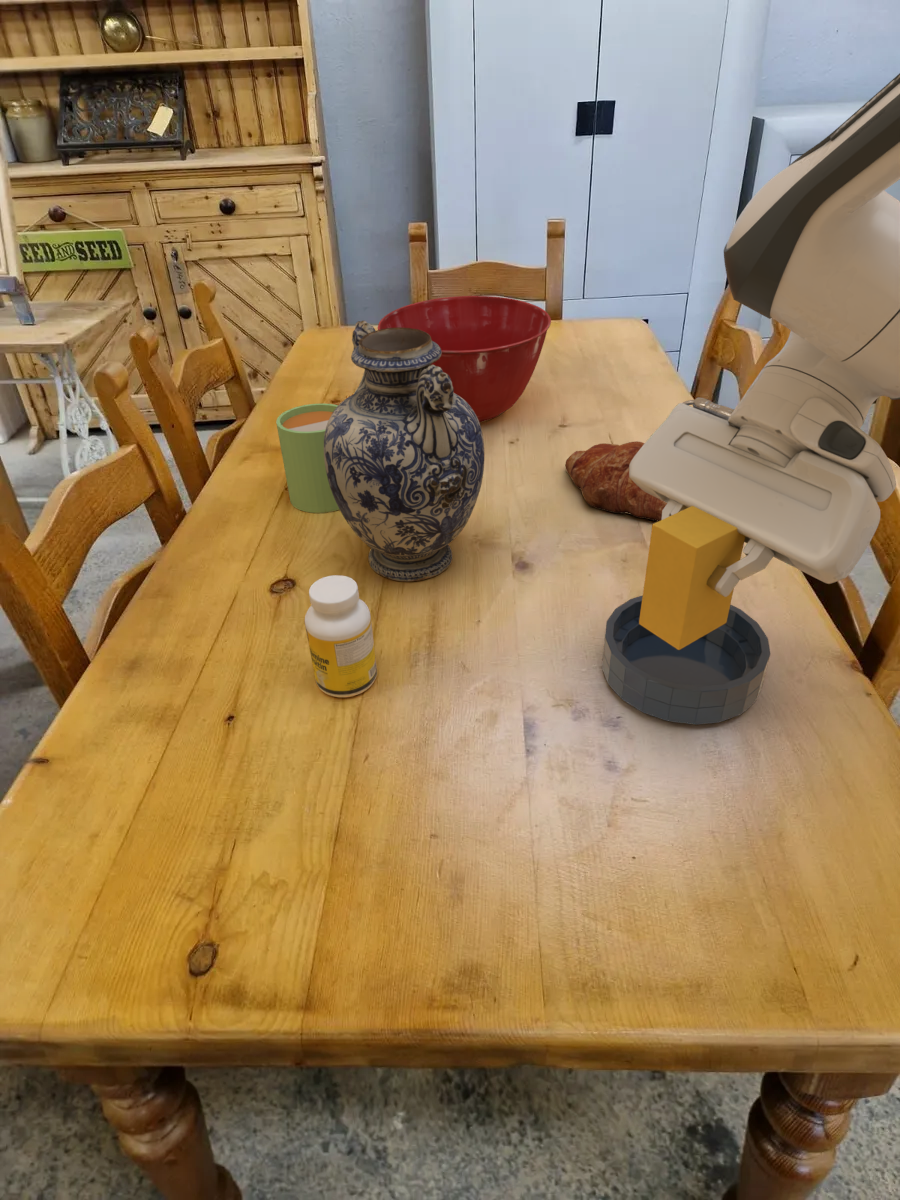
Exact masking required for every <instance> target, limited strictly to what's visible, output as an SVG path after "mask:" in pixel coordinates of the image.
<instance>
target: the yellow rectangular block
mask: <svg viewBox="0 0 900 1200" xmlns="http://www.w3.org/2000/svg"><path fill="white" fill-rule="evenodd" d="M649 541H650V542H649V546H648V547H649V548H648V554H647V562H646V569H645V577H644V584H643V591H642V595H643V597H642V605H641V612H640V619H639V624H640V625H641V626H643V627H644V628H646V629H647V630H649V631H650V632H652V633H653V634H655V635H656V636H658V637H659V638H661V639H662V640H664V641H666V642H667V643H669V644H670V645H672V646H673V647H675V648H676V649H678V650H680V649H682V648H684V647H685V646H687V645H689V644H691V643H692V642H694V641H696V640H697V639H699V638H701V637H703V636H704V635H706V634H708V633H710V632H711V631H713V630H715V629H716V628H718V627H720V626H722V625H723V624H725V623H726V622H727V618H728V613H729V609H730V604H731V603H732V599H733V595H734V590H735V588H734V589H733V590H732V591H731V593H730V594H729V595H728V596H727V597H724V596H723V595H721V594H719V593H717V592H716V591H714V590H712V589H711V588H710V587H709V586H708V585H707V580H708V578H709V577H710V575H712V573H713V571H714V570H715V568H716V567H717V565H720V566H721V567H723V568H725V569H726V568H727V567H729V566H730V565H732V564H734V563H736V562H737V561H739V560H741V559H742V553H743V549H744V545H745V542H744V541H745V536H744V535H742V534H740V533H738V531H737V527H735V526H733V525H731V524H728V523H726V522H724V521H722V520H720V519H718V518H716V517H714V516H712V515H710V514H708V513H706V512H704V511H702V510H700V509H698V508H696V507H694V506H691V507H689V508H687V509H684V510H682V511H680V512H678V513H676V514H674V515H671V516H669V517H667V518H665V519H663V520H661V521H656V522H654V523H652V525H651V533H650V540H649ZM731 605H732V604H731Z"/></svg>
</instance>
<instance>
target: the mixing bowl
mask: <svg viewBox="0 0 900 1200" xmlns="http://www.w3.org/2000/svg"><path fill="white" fill-rule="evenodd" d="M551 323H552V318H551V316H550V314H549V312H547V311H546V310H544V309H543V308H541V307H540V306H537V305H536V304H533V303H530V302H527V301H523V300H520V299H514V298H510V297H509V298H508V297H502V296H489V295H460V296H459V295H458V296H445V297H438V298H432V299H426V300H422V301H417V302H413V303H411V304H407V305H403V306H402V307H399V308H396V309H394V310H392V311H390V312H389V313H387V314H386V315H384V316H383V317H382V318H381V319H380V320H379V322H378V325H377V330H381V329H386V328H398V327H401V328H412V329H418V330H422V331H424V332H426V333H428V334H429V335H430V336H431V340H432V341H433V342H435V343H437V344H438V345H439V347H440V348H441V351H442V354H441V356H440V358H439V359H438V360H437V361H435V362H434V363H432V364H433V365H435V366H437V367H440V368H441V369H442V371H443V372H444V373H446V374H448V375H449V376H450V378H451V381H452V386H453V389H454V392H453V393H455V394H457V395H458V396H460V397H461V398H463V399H464V400H465V401H466V402H467V403H468V404H469V405H470V407H471V408H472V409H473V411H474V412H475V414H476V416H477V418H478V420H479V423H483V422H486V421H487V422H488V421H490V420H493V419H495V418H497V417H498V416H499V417H500V415H501V414H503V413H505V412H506V411H508V410H509V409H510V408H512V407H513V406H514V405H515V404H516V403H517V402H518V401H519V399H520V398H521V397H522V395H523V394H524V392H525V390H526V388H527V387H528V385H529V382H530V380H531V378H532V377H533V374H534V372H535V369H536V367H537V364H538V361H539V359H540V356H541V353H542V350H543V346H544V344H545V340H546V337H547V333H548V330H549V328H550V327H551ZM432 364H431V365H432Z"/></svg>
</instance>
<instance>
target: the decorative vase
mask: <svg viewBox="0 0 900 1200" xmlns="http://www.w3.org/2000/svg"><path fill="white" fill-rule="evenodd" d="M354 327H355V328H354V330H353V331H352V335H351V342H352V345H353V351H351V357H350V359H351V362H352V363H353V364H354V365H355V366H356V367H358V368H361V369H364V371H363V374H362V377H361V380H360V383H359V384H358V386H357V387H356V390H355V391H354V393H352V394H351V395H349V396H347V397H346V398H345V399H344V400H342V401H341V402H340V403H339V404H337V405H338V406H337V408H336V409H335V410H334V412H333V413H332V415H331V417H330V419H329V421H328V423H327V426H326V430H325V435H324V461H325V468H326V473H327V478H328V482H329V485H330V488H331V491H332V494H333V497H334V499H335V501H336V503H337V505H338V507H339V509H340V510H339V512H340V513H341V515H342V516H343V518H344V520H345V522H346V523H347V524H348V526H349V528H350V529H351V530H352V532H353V533H354V534H355V535H356V536H357V537H358V538H359V540H360V541H362V543H364V544H365V545H366V546H368V547H369V548H370V550H369V553H368V563H369V566H370V568H371V569H372V570H373V572H374V573H376V574H377V575H379V576H381V577H383V578H385V579H388V580H392V581H396V582H397V581H398V582H419V581H424V580H428V579H432V578H434V577H436V576H439V575H440V574H442V573H443V572H445V571H446V570H447V569H448V568H449V567H450V565H451V563H452V561H453V551H452V548H451V545H449V544H450V543H452V542H453V541H454V540H455V539H456V538H457V537H458V536H459V535H460V534H461V532H462V531H463V530H464V528H465V527H466V525H467V523H468V522H469V519H470V518H471V515H472V513H473V511H474V508H475V506H476V504H477V500H478V498H479V494H480V492H481V487H482V483H483V477H484V471H485V470H484V469H485V442H484V435H483V431H482V426H481V422H479V420H478V418H477V416H476V414H475V412H474V411H473V409H472V408H471V407H470V405H469V404H468V403H467V402H466V401H465V400H464V399H463V398H461V397H460V396H458V395H457V394H455V393H453V392H454V389H453V386H452V381H451V378H450V376H449V375H448V374H446V373H444V372H443V371H442V369H441V368H440V367H437V366H435V365H433V364H432V363H434V362H435V361H437V360H438V359H439V358H440V356H441V354H442V351H441V348H440V347H439V345H438V344H437V343H435V342H433V341H432V340H431V336H430V335H429V334H428V333H426V332H424V331H422V330H418V329H412V328H401V327H398V328H386V329H381V330H378V329H377V330H376V328H375V327H374V326H373V325H372V324H370V323H368V322H367V321H366V320H358V321H356V323H355V326H354ZM431 364H432V365H431Z"/></svg>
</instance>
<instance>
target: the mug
mask: <svg viewBox="0 0 900 1200" xmlns="http://www.w3.org/2000/svg"><path fill="white" fill-rule="evenodd" d="M338 405H339V404H333V403H311V404H310V403H309V404H302V405H299V406H295V407H292V408H290V409H287V410H285V411H283V412H282V413H281V414H279V415H278V417H277V418H276V420H275V421H276V422H275V423H276V429H277V434H278V439H279V441H278V442H279V446H280V451H281V457H282V463H283V468H284V474H285V480H286V486H287V490H288V491H287V492H288V497H289V501H290V504H291V505H292V507H293V508H296V509H297V510H299V511H301V512H306V513H311V514H325V513H333V512H336V511H340V509H339V507H338V505H337V503H336V501H335V499H334V497H333V494H332V491H331V488H330V485H329V482H328V478H327V473H326V468H325V461H324V435H325V430H326V426H327V423H328V421H329V419H330V417H331V415H332V413H333V412H334V410H335V409H336V408H337V406H338Z"/></svg>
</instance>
